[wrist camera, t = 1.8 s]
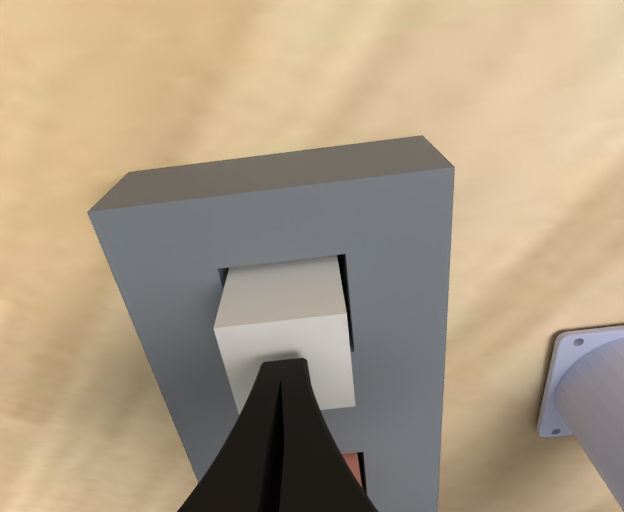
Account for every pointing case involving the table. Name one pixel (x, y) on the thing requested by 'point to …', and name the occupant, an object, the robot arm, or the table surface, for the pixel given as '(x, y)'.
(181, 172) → the button panel
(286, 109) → the table surface
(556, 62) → the table surface
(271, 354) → the white cube
